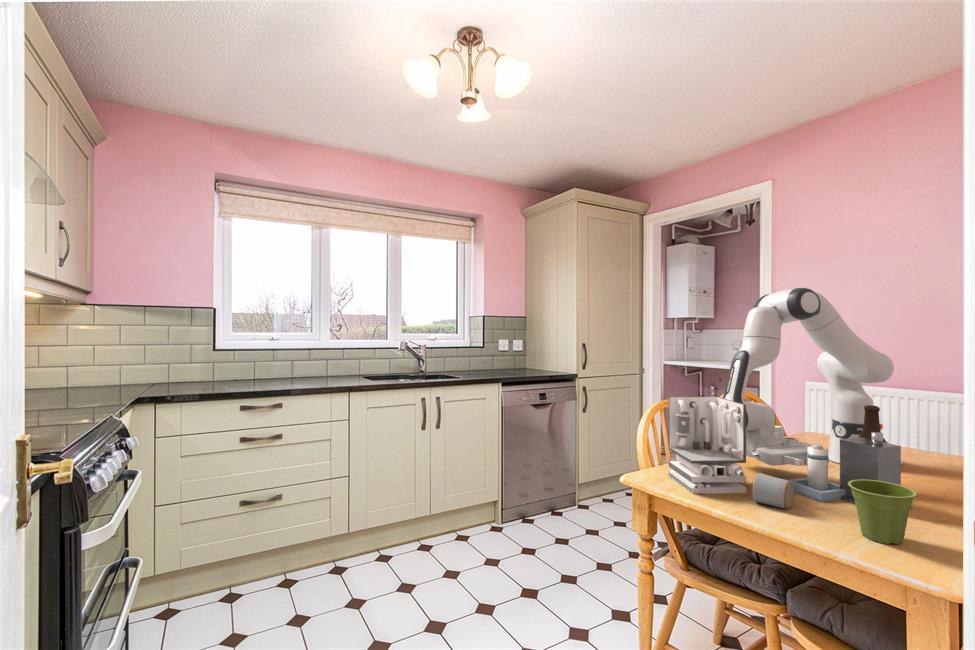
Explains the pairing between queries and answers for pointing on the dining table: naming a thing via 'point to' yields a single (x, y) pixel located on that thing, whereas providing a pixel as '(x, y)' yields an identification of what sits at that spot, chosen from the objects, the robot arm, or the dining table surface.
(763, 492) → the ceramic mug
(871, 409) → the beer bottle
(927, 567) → the dining table surface
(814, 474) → the cylinder
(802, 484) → the tray
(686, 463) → the pipe room model
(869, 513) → the plant pot
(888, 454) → the block
